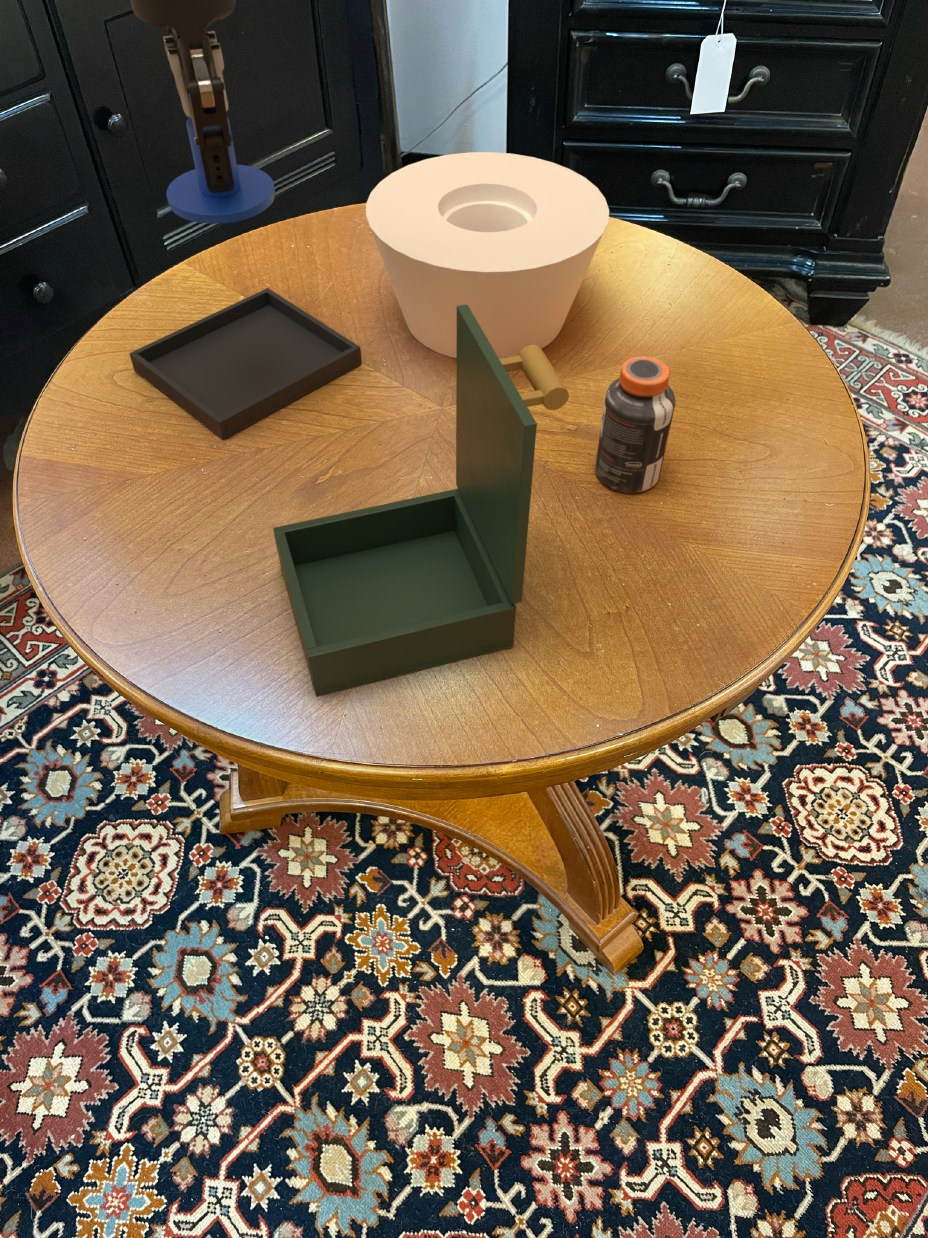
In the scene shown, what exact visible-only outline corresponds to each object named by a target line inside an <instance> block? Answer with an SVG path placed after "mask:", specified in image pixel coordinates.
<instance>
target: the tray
mask: <svg viewBox="0 0 928 1238" xmlns="http://www.w3.org/2000/svg"><path fill="white" fill-rule="evenodd" d="M361 350H362V349H361V346H359V345H358V344H356V343H355V342H354V341H352V340H351V339H349V338H347V337H346V336H344V335H342V334H341V333H339V332H338V331H336V330H335V329H333V328H331V327H330V326H328V325H327V324H326V323H324V322H322V321H320V320H319V319H317V318H316V317H315V316H313V315H311V314H309V312H306V311H305V310H303V309H302V308H300V307H299V306H297V305H296V304H294V303H292V302H291V301H289V300H288V299H286V298H285V297H282V296H281V295H280V294H278V293H277V292H275V291H273V290H272V289H270V288H269V287H267V288H264V289H263V290H260V291H258V292H256V293H254V294H251V295H250V296H247V297H245V298H243V299H241V300H238V301H236V302H234V303H233V304H231V305H228V306H227V307H224V308H221V309H220V310H218V311H215V312H213V313H212V314H209V315H207V316H205V317H203V318H201V319H199V320H196V321H195V322H192V323H190V324H188V325H186V326H184V327H181V328H180V329H177V330H175V331H173V332H171V333H169V334H167V335H165V336H163V337H161V338H158V339H156V340H155V341H152V342H150V343H148V344H146V345H143V346H141V347H140V348H137V349H135V350H132V351H131V352H129V353H128V355H129V358H130V360H131V364H132V367H133V371H134V372H135V373H137V375H138V376H140V377H142V378H143V379H144V380H146V381H147V382H148V383H149V384H150V385H152V386H153V387H155V388H156V389H157V390H158V391H160V392H161V393H162V394H163V395H164V396H166V397H167V398H168V399H170V400H171V401H173V402H174V403H175V404H176V405H177V406H179V407H180V408H181V409H183V410H184V411H185V412H186V413H188V415H191V417H193V418H194V419H195V420H197V421H198V422H199V423H200V424H202V426H203V427H206V428H207V429H208V430H209V431H210V432H212V433H213V434H214V435H216V436H217V437H218V438H219V439H221V440H222V441H225V440H227V439H229V438H231V437H232V436H234V435H236V434H238V433H240V432H241V431H243V430H245V429H247V428H249V427H250V426H253V425H254V424H256V423H258V422H259V421H261V420H264V419H265V418H268V417H269V416H271V415H272V414H274V413H275V412H278V411H279V410H281V409H284V408H285V407H287V406H288V405H291V404H292V403H295V401H298V400H300V399H302V398H303V397H305V396H307V395H309V394H311V393H312V392H315V391H316V390H318V389H320V388H321V387H324V386H325V385H327V384H329V383H331V382H332V381H334V380H336V379H338V378H340V377H342V376H343V375H345V374H347V373H349V372H351V371H352V370H354V369H356V368H358V367H360V366H362V364H363V363H362V351H361Z"/></svg>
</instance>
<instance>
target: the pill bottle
mask: <svg viewBox="0 0 928 1238" xmlns="http://www.w3.org/2000/svg"><path fill="white" fill-rule="evenodd" d="M670 374H671V372H670V368H669V366H668V365H667V364H666V362H665V363H664V361H662V360H660V359H658V358H656V357H652V356H648V355H647V356H646V355H645V356H644V355H641V356H634V357H631V358H628V359H626V360H625V362H623V363H622V366H621V369H620V374H619V377H618V378H617V379H615V380H614V381H612V382H611V383H610V385H609V386H608V387H607V390H606V393H605V397H604V404H603V410H602V415H601V422H600V430H599V437H598V445H597V452H596V458H595V464H594V465H595V466H594V468H595V469H594V470H595V474H596V476H597V478H598V480H599V481H600V482H601V483H602V484H603V485H605V486H606V487H608V488H610V489H611V490H614V491H617V492H621V493H628V494H634V493H641V492H644V491H647V490H649V489H651V488H653V486H655V485H656V484H657V482H659V480H660V477H661V473H662V469H663V463H664V458H665V453H666V450H667V445H668V440H669V436H670V431H671V425H672V422H673V417H674V413H675V407H676V395H675V393H674V391H673V389H672V388H671V386H670V385H669V381H670V376H671V375H670Z"/></svg>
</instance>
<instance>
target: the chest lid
mask: <svg viewBox="0 0 928 1238" xmlns="http://www.w3.org/2000/svg"><path fill="white" fill-rule="evenodd" d="M519 370H522V372H523V373H524V375H525V377H526V379H527V381H528V382H529V383H530V385H531V387H532V388H533V391H532V390H531V391H528V392H523V393H520V392H519V391H518V389H517V388H516V386H515V384H514V382H513V380H512V378H511V377H510V375H509V373H508V372H513V371H519ZM455 373H456V374H455V375H456V377H455V378H456V381H455V383H456V385H455V387H456V390H455V391H456V392H455V393H456V394H455V395H456V397H455V399H456V401H455V403H456V404H455V405H456V406H455V409H456V412H455V416H456V417H455V420H456V421H455V451H456V452H455V485H456V487H457V489H459V492H460V494H461V496H462V498H463V500H464V502H465V504H466V507H467V509H468V511H469V513H470V515H471V517H472V519H473V522H474V524H475V526H476V528H477V530H478V532H479V534H480V537H481V539H482V541H483V543H484V545H485V547H486V549H487V552H488V554H489V556H490V558H491V560H492V562H493V564H494V567H495V569H496V571H497V573H498V575H499V577H500V579H501V582H502V584H503V586H504V588H505V590H506V592H507V594H508V597H509V599H510V601H511V603H512V604H514V603H515V604H518V603H522V602H523V593H524V580H525V568H526V558H527V557H526V556H527V546H528V533H529V523H530V522H529V521H530V510H531V497H532V485H533V473H534V463H535V451H536V439H537V428H538V423H537V422H536V419H535V418H534V416H533V414H532V413H531V411H530V410H529V408H530V407H535V406H540V405H543V407H544V408H545V409H547V410H549V411H556V410H559V409H561V408H563V407H564V406H565V405H566V404H567V403H568V400H569V397H570V393H569V390H568V388H567V387H566V386H565V384H564V383H563V381H562V380H561V377H560V376H559V375H558V373H557V372H556V370H555V369H554V367H553V365H552V364H551V361H549V359H548V358H547V356H546V354H545V353H544V351H543V350H542V349H541V348H540V347H539V346H537V345H529V346H526V347H524V348H523V349H522V350H521V351H520V353H519V355H518V356H513V357H508V358H502V359H499V358H498V356H497V354H496V353H495V351H494V349H493V348H492V346H491V344H490V342H489V341H488V339H487V337H486V335H485V334H484V332H483V330H482V329H481V327H480V325H479V323H478V322H477V320H476V318H475V317H474V315H473V313H472V311H471V310H470V308H469V306H468V305H467V304H466V305H460V306H457V358H456V372H455Z"/></svg>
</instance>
